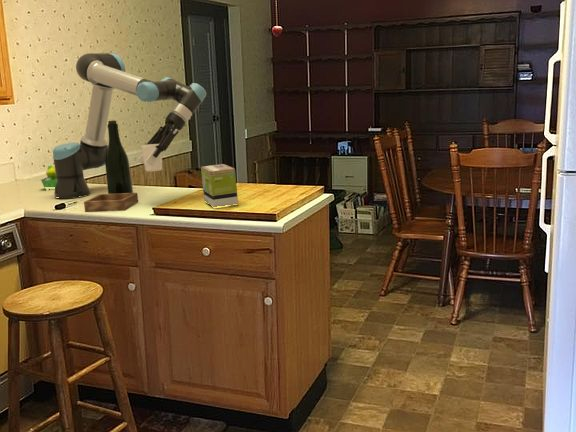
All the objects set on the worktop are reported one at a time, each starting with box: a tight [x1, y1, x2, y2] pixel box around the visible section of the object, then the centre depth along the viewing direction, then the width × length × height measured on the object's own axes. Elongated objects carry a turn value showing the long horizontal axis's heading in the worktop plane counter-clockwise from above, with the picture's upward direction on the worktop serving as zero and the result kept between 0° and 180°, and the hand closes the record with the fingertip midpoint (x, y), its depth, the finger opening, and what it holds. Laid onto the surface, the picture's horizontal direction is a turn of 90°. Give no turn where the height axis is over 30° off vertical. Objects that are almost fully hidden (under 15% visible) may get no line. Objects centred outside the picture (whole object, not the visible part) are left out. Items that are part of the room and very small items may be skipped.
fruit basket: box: [40, 165, 57, 188], centre depth 308 cm, size 11×9×11 cm
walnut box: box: [83, 192, 139, 213], centre depth 252 cm, size 16×16×4 cm
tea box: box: [200, 163, 239, 207], centre depth 243 cm, size 15×10×15 cm, turn 22°
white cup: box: [140, 144, 163, 172], centre depth 248 cm, size 8×8×10 cm
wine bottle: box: [104, 120, 134, 194], centre depth 272 cm, size 10×10×33 cm
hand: (144, 162), depth 247 cm, fingers closed on white cup, 8 cm apart
